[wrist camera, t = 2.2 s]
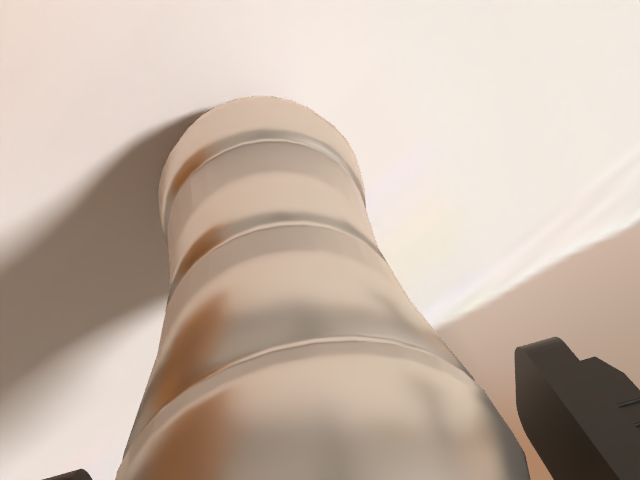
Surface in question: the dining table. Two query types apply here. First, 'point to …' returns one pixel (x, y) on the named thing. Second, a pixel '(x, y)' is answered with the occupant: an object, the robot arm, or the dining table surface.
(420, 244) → the dining table surface
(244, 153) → the plastic bottle
